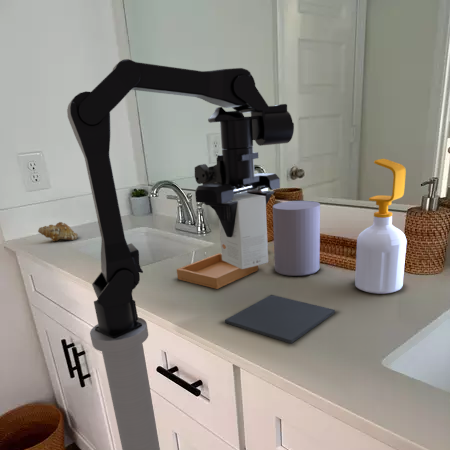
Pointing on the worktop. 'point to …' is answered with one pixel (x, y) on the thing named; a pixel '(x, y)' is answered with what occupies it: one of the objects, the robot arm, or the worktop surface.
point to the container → (296, 237)
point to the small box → (247, 233)
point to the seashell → (58, 232)
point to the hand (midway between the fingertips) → (242, 232)
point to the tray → (213, 272)
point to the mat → (280, 318)
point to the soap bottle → (382, 242)
